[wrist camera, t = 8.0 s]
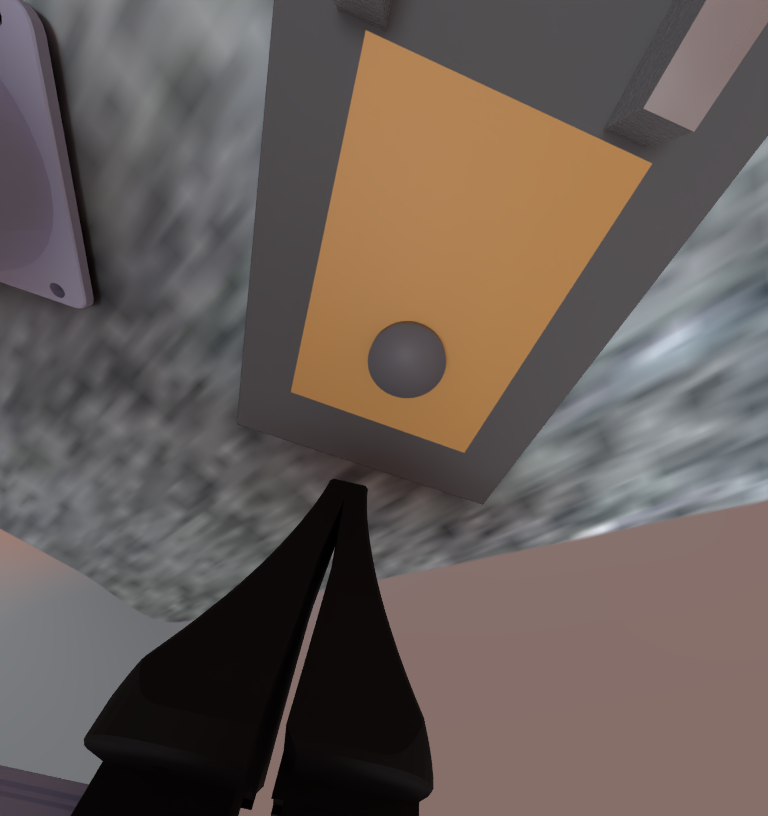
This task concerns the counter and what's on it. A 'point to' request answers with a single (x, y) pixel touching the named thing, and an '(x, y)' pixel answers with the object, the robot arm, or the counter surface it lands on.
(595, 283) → the mat
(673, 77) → the sliding latch
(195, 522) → the counter surface
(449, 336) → the block
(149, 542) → the counter surface
